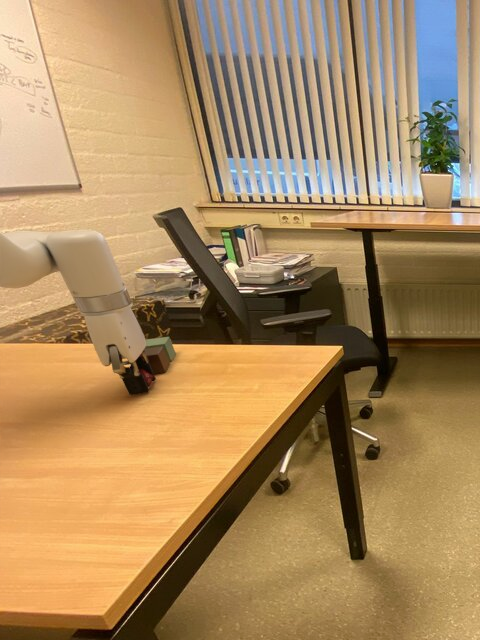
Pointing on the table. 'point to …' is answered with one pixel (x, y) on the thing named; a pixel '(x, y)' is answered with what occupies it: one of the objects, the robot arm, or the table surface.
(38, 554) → the table surface
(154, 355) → the walnut block
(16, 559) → the table surface
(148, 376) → the dice
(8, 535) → the table surface
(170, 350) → the sage block
